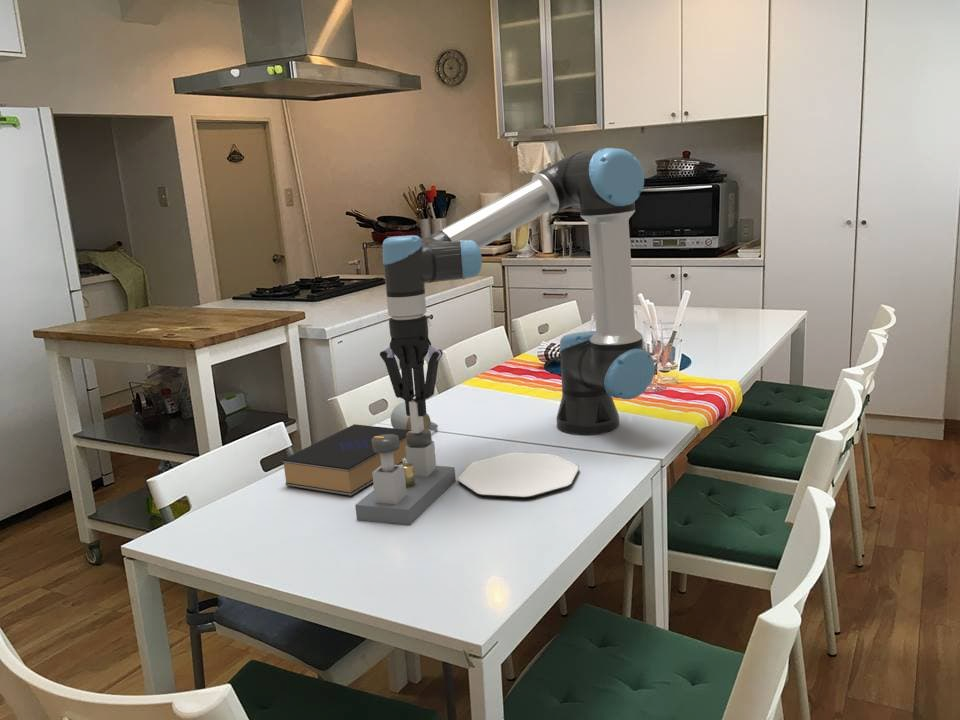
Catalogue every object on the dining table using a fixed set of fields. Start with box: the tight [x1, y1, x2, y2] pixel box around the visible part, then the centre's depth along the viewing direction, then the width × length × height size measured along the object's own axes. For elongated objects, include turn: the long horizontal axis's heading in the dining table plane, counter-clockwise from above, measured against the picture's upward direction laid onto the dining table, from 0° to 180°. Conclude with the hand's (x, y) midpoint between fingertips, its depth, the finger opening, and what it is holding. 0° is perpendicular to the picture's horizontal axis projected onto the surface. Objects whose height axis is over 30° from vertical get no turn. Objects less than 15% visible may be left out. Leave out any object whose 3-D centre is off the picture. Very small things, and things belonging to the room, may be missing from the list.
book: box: [281, 423, 411, 497], centre depth 177 cm, size 17×25×7 cm
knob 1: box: [372, 434, 400, 472], centre depth 151 cm, size 5×5×8 cm
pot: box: [400, 458, 415, 488], centre depth 158 cm, size 3×3×6 cm
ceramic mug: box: [390, 401, 439, 432], centre depth 200 cm, size 11×8×8 cm
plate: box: [457, 452, 580, 499], centre depth 167 cm, size 24×24×2 cm
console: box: [354, 441, 456, 526], centre depth 159 cm, size 11×22×9 cm, turn 159°
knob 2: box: [406, 429, 432, 447], centre depth 164 cm, size 5×5×8 cm
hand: (417, 431), depth 163 cm, fingers closed
